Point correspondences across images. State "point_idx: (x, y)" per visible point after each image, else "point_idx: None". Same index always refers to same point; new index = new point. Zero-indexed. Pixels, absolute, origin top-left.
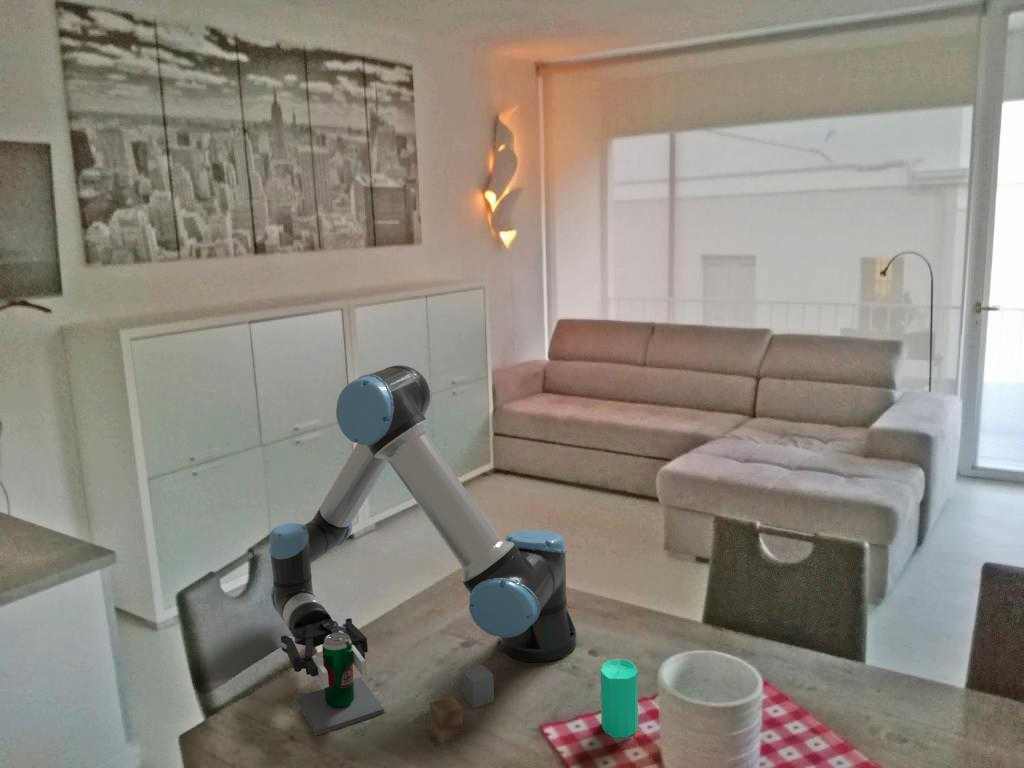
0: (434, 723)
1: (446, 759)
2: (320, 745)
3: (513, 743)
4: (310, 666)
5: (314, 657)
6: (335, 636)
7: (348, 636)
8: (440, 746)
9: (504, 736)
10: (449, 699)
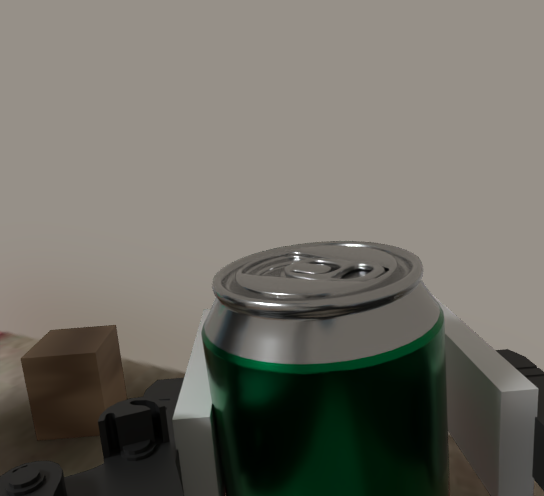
0: (111, 386)
1: (156, 366)
2: (454, 480)
3: (17, 365)
4: (530, 370)
5: (513, 375)
6: (320, 274)
7: (223, 271)
8: (137, 391)
9: (6, 380)
10: (39, 352)
